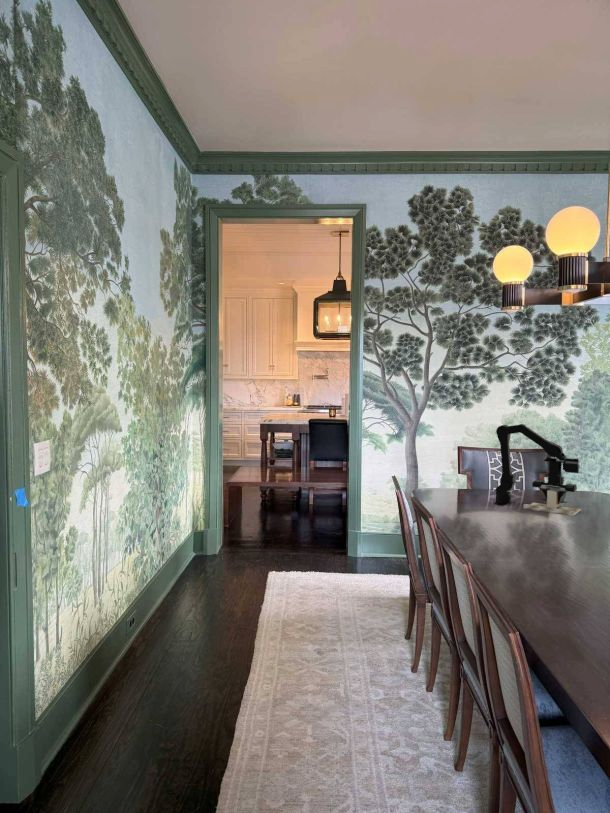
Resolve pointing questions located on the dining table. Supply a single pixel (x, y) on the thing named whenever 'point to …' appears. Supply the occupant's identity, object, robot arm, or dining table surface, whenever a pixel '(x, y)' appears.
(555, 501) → the carton
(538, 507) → the shelf board
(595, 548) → the dining table surface
